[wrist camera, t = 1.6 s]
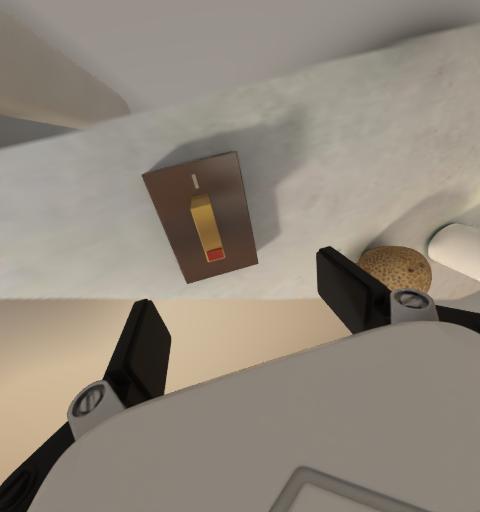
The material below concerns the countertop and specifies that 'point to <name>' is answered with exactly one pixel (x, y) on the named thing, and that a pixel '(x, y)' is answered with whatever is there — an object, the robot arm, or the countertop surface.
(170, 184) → the plate
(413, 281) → the natural sponge
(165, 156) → the countertop surface
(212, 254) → the thumbturn
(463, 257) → the can
